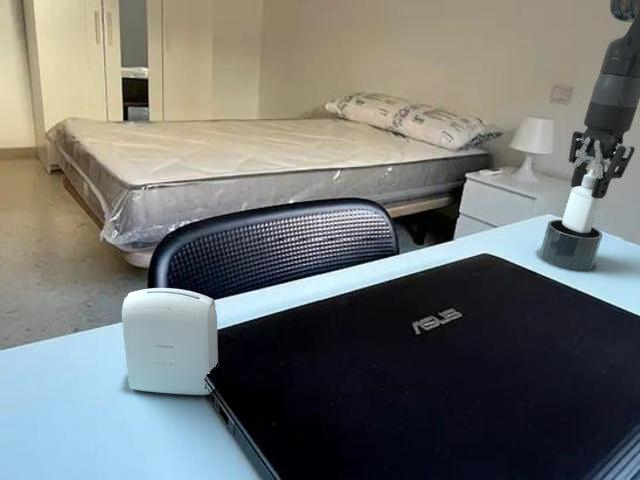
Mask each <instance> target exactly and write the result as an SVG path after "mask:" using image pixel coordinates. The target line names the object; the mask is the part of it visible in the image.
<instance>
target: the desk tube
mask: <svg viewBox="0 0 640 480" xmlns="http://www.w3.org/2000/svg"><path fill="white" fill-rule="evenodd" d="M562 220H563V219H551V220H550V221H548V222H547V226H546V229H545V233H544V237H543V240H542V244H541V247H540V250H539V257H540V258H541V260H543V261H544V262H546V263H547V264H550V265H551V266H553V267H557V268H560V269H563V270H567V271H573V272H585V271H589V270H591V269H592V268H593V266H594V263H595V260H596V257H597V254H598V251H599V248H600V246H601V245H600V244H601V242H602V239H603V232H601V230H599V229H597V228H595V227H593V226H592V228H591V231H590V232H589V233H579V232H576V231H573V230H571V229H569V228H567V227H565V226H564V225H563V224H562Z"/></svg>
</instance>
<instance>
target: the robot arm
mask: <svg viewBox="0 0 640 480" xmlns="http://www.w3.org/2000/svg"><path fill="white" fill-rule="evenodd" d="M609 10H610V11H609V12H610V13H611V16H613V18H614V19H616V20H617V21H619V22H622V23H631V24H630V25H629V28H628V30H627V31H626V33H625V34H624V35H622V36H620V37H616V38H614V39H612V40H611V41H610V42H609V43H608V45H607V47H606V49H605V53H604V57H603V60H602V63H601V67H600V70H599V74H598V77H597V79H596V81H595V84H594V86H593V89H592V92H591V96H590V99H589V103H588V107H587V109H586V114H585V117H584V121H583V124H584V126H585V127H587V128H586V130H585V131H582V130H581V131H576V130H575V131H573V133H572V137H571V138H572V139H571V144H570V149H569V157H568V162H569V163H572V164H573V168H574V170H573V174H572V176H571V180H570V187H571V188H572V189H573V188H574V187H576V186H582V185H581V184H582V181H583V177H584V175H586V174H588V171H589V169H588V168H589V167H590V166H591V164H592V162H593V161H595V163H594V164H595V166H596V167H597V177H598V178H596V181H595V184H594V188H593V191H592V194H591V196H592V197H593V198H601V199H603V198H604V197H606V195H607V193H608V189H609V186H610V183H611V181H612V180H614V179H621V178H622V177H623V175H624V174H625V171H626V169H627V167H628V165H629V163H630V161H631V159H632V157H633V155H634V153H635V147H634V146H627V145H626V144H624V135H625V133H627V132H629V131H630V130H631V127H632V125H633V122H634V118H635V115H636V112H637V109H638V106H639V103H640V0H610V2H609ZM577 151H578V152H577Z"/></svg>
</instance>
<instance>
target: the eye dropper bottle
mask: <svg viewBox="0 0 640 480" xmlns="http://www.w3.org/2000/svg"><path fill="white" fill-rule="evenodd" d="M596 178H598V175H596V169H595V168H591V169H590V170H589V172H588V173H587V174H586V175H584V177H583V181H582V184H581V185H582V186H576V187H574V188H573V187H572V188H571V190H570V193H569V197H568V199H567V203H566V206H565V211H564V212H563V213H564V214H563V217H562V219H561V220H562V224H563V225H564V226H565V227H567V228H569V229H571V230H573V231H576V232H579V233H589V232H590V231H591V228H592V227H593V224H594V222H595V219H596V217H597V212H598V210H599V205H600V203H601V199H602V198H593V197H592V196H591V194H592V191H593V188H594V184H595V181H596Z"/></svg>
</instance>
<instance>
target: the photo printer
mask: <svg viewBox="0 0 640 480" xmlns="http://www.w3.org/2000/svg"><path fill="white" fill-rule="evenodd" d="M122 303H123V304H122V309H121V325H122V335H123V342H124V343H123V344H124V352H125V362H126V373H127V381H128V386H129V389H132V390H135V391H141V392H151V393H160V394H161V393H162V394H175V395H191V396H193V395H194V396H207V395H210V394H211V393H210V392H209V391H208V389H205V383H204V379H205V376H206V375H207V374H210V371H211V370H212V369H213V368H214V367H216V365H217V363H218V364H219V349H218V348H219V347H218V345H219V344H218V342H219V341H218V314H217V310H216V302H215V300H214V298H211V297H209V296H207V295H204V294H201V293H198V292H195V291H191V290H186V289H180V288H171V287H153V288H144V289H139V290H135V291H134V290H133V291H131V292H129V293H128V294H127V296H126V297H125V298H124V300H123V302H122Z"/></svg>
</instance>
